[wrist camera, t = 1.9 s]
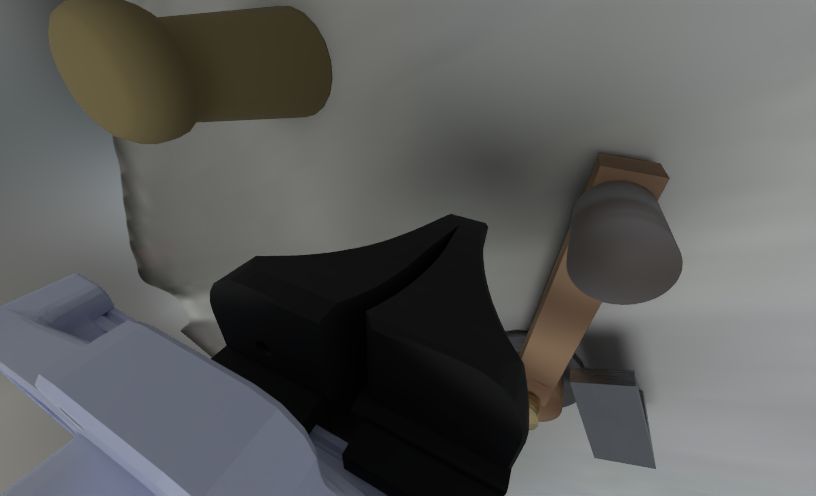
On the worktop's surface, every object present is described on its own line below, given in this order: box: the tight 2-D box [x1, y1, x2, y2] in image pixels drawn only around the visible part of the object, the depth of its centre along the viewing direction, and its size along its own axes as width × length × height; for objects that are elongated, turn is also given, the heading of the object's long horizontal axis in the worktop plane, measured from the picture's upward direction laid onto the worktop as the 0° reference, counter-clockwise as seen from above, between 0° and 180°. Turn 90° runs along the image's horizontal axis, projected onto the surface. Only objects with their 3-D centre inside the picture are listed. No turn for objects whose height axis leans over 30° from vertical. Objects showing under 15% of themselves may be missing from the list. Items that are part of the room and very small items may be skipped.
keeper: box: [570, 368, 656, 469], centre depth 19 cm, size 3×6×4 cm, turn 26°
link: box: [518, 153, 682, 422], centre depth 17 cm, size 18×4×6 cm, turn 176°
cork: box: [48, 0, 332, 144], centre depth 16 cm, size 6×6×11 cm
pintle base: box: [506, 331, 584, 430], centre depth 22 cm, size 7×7×4 cm
